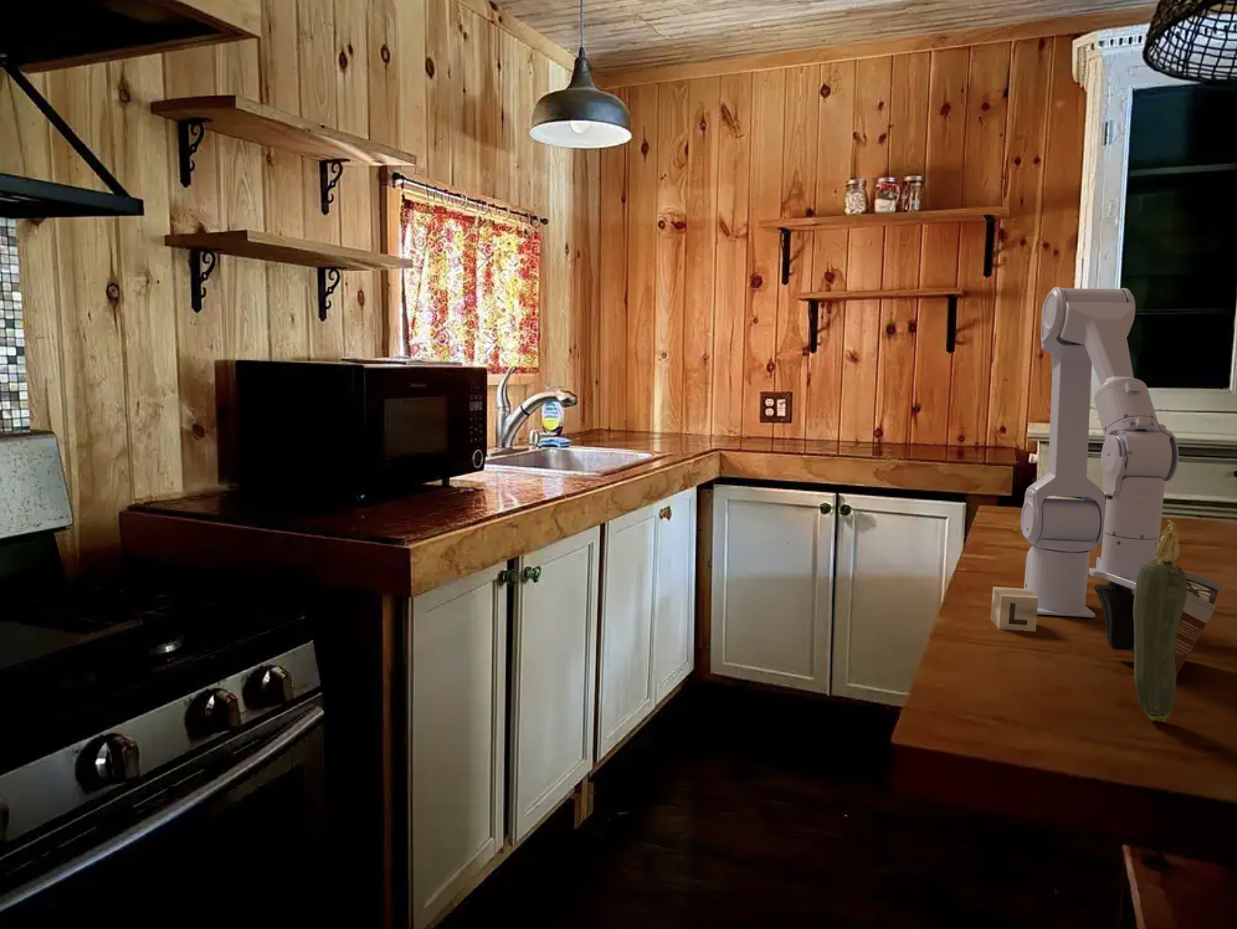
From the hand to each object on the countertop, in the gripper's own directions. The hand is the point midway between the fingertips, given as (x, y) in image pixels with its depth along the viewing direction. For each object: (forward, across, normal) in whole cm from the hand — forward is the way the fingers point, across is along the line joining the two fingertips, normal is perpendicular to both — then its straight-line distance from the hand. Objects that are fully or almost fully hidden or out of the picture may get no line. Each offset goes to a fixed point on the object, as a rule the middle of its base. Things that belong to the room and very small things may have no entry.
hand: (1120, 648), depth 110 cm
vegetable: (+2, +19, -4) cm, 19 cm away
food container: (+1, +1, +3) cm, 3 cm away
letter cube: (+2, -12, -9) cm, 15 cm away
